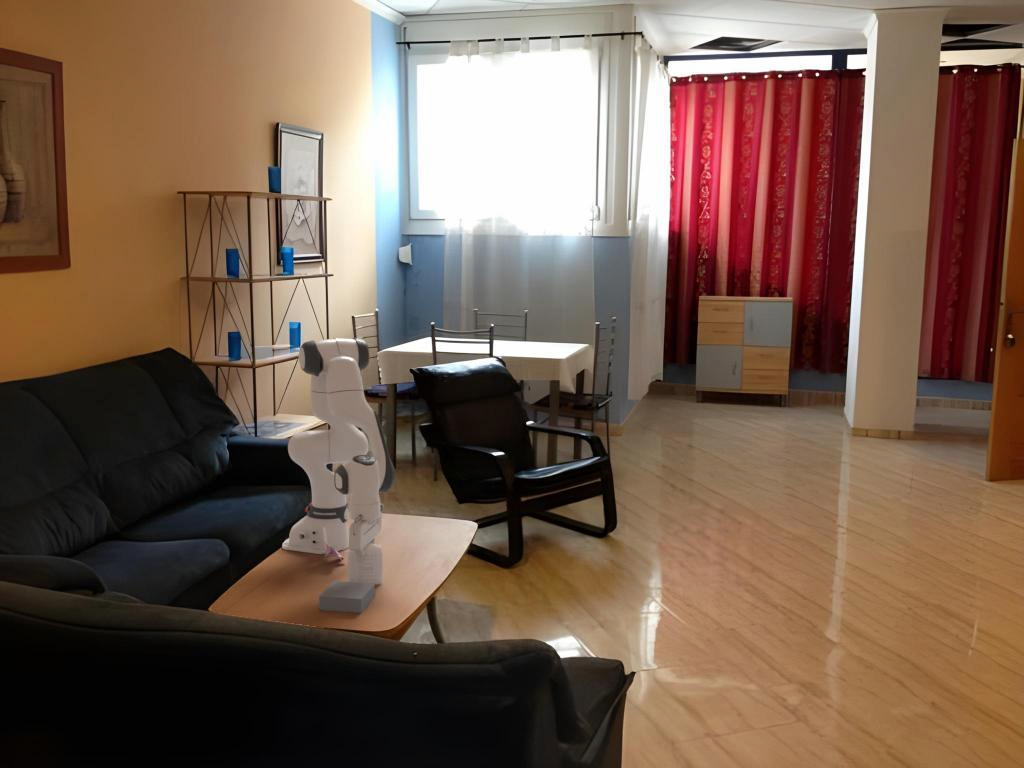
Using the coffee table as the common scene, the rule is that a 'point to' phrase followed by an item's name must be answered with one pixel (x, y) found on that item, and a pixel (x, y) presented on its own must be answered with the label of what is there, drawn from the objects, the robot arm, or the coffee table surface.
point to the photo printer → (366, 565)
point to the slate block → (347, 597)
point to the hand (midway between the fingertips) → (365, 557)
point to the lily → (331, 551)
